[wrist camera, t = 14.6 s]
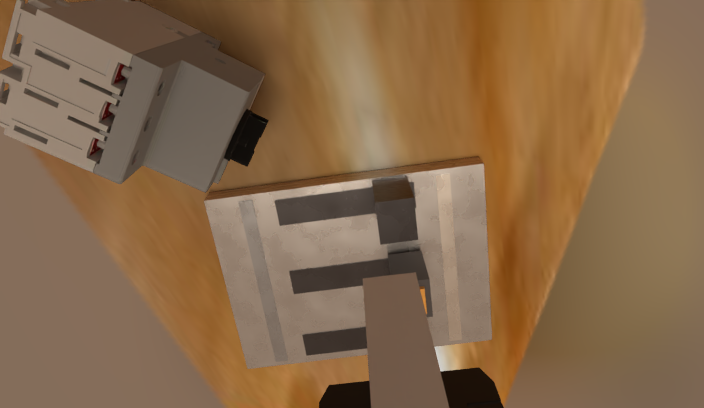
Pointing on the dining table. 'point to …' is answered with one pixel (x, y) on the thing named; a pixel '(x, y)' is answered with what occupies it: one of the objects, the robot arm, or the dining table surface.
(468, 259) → the breaker panel
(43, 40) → the circuit breaker
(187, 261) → the dining table surface
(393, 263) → the toggle
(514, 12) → the dining table surface
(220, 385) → the dining table surface
